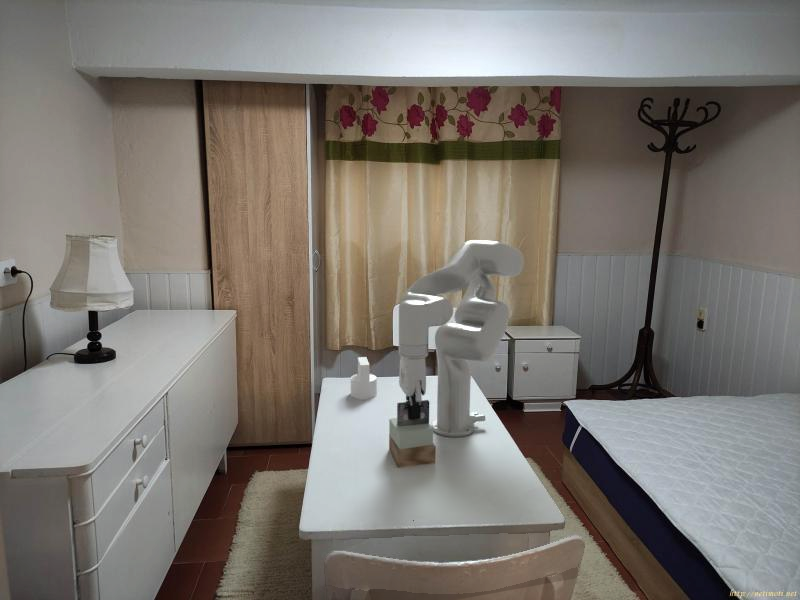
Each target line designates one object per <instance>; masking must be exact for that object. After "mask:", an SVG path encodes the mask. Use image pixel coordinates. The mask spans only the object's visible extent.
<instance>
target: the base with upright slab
mask: <svg viewBox="0 0 800 600" xmlns="http://www.w3.org/2000/svg"><path fill="white" fill-rule="evenodd" d="M370 372H371V371H370V362H369V361H368V358H367V356H360V357H357V373H356V374H353V375H352V376H350V396H351V397H352V398H353V397H354V399H356V398H357V400H369V399H370V400H371V399H373V398H375V397H377V394H378V382H377V381H378V377H377V376H376V375H374V374H373V373H370Z"/></svg>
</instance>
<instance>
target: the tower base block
mask: <svg viewBox="0 0 800 600" xmlns="http://www.w3.org/2000/svg"><path fill="white" fill-rule="evenodd" d="M388 441H389V442H388V446H389V447H388V450H389V452H390V455H391V457H392V459H393V461H394V463H395V465H396V467H397V468H406V467H414V466H422V465H423V466H424V465H430V464H436V456H437V455H436V453H437V452H436V448H437V447H436V445H435V443H434V442H433V445H427V446H421V447H414V448H407V449H399V448H398V446H397V445H396V443H395V442H394V441H393V439H392V438H391V436H390V435H388Z"/></svg>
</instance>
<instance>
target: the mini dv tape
mask: <svg viewBox="0 0 800 600" xmlns="http://www.w3.org/2000/svg"><path fill="white" fill-rule="evenodd" d="M396 405H397V406H396V408H397V409H396V415H397V417H396V418H397V424H398V426H406V425H416V424H426V423H429V424H430V401H429V400H428V399H424V400H422V402H421V418H420V419H413V420H409V419H408V405H409V402H406V401H404V402H397V404H396Z"/></svg>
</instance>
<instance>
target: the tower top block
mask: <svg viewBox="0 0 800 600" xmlns="http://www.w3.org/2000/svg"><path fill="white" fill-rule="evenodd" d="M388 421H389V422H388V423H389V424H388V425H389V428H388V429H389V430H388V432H389V435H390V436H391V438H392V439H393V441H394V442H395V443H396V445H397V446H398V448H399V449H407V448H414V447H421V446H427V445H433V443H434V430H433V427H432V424H430V422H429V423H426V424H416V425H406V426H398V424H397V417H395V418H389V419H388ZM389 435H388V436H389Z"/></svg>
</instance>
